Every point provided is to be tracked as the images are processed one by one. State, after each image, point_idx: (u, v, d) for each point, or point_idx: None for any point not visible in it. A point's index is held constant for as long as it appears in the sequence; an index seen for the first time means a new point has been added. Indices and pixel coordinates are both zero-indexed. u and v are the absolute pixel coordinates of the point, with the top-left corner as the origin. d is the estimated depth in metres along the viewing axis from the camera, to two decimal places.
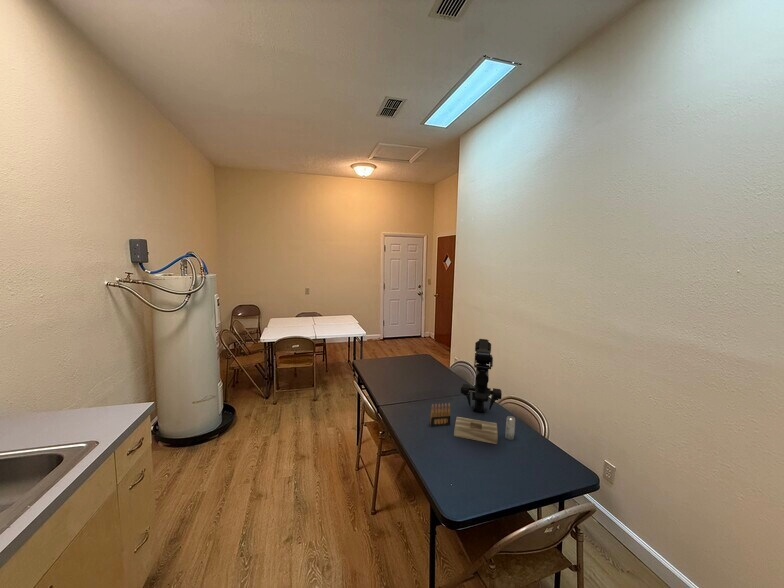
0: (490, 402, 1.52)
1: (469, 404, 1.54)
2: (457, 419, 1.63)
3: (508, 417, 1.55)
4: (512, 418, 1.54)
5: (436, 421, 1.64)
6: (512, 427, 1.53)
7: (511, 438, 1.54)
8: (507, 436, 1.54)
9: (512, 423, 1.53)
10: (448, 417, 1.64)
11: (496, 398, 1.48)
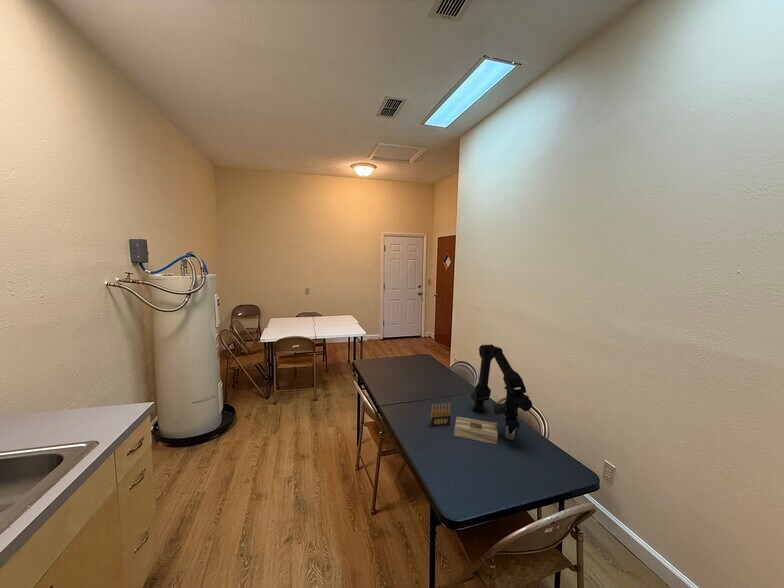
0: (510, 426, 1.53)
1: None
2: (457, 419, 1.63)
3: None
4: None
5: (436, 421, 1.64)
6: None
7: (511, 438, 1.54)
8: (507, 436, 1.54)
9: None
10: (448, 417, 1.64)
11: None
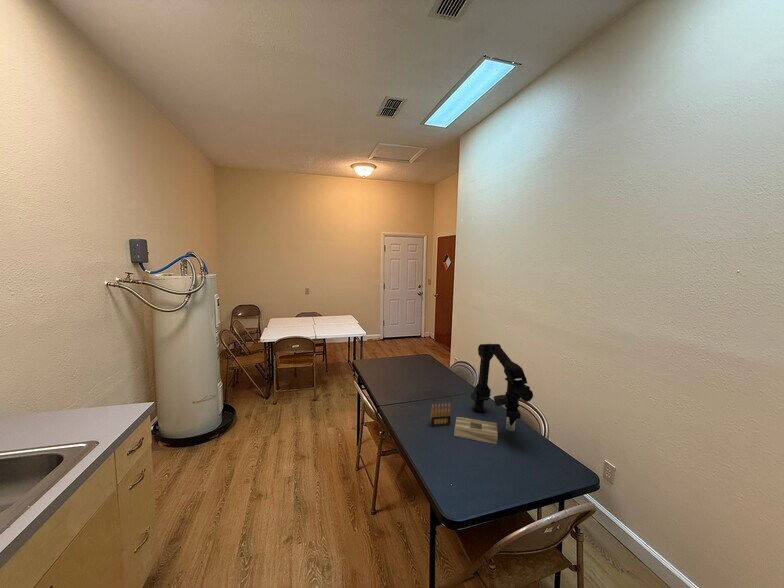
0: (511, 417, 1.52)
1: None
2: (457, 419, 1.63)
3: None
4: None
5: (436, 421, 1.64)
6: None
7: (511, 430, 1.53)
8: (508, 427, 1.54)
9: None
10: (448, 417, 1.64)
11: None
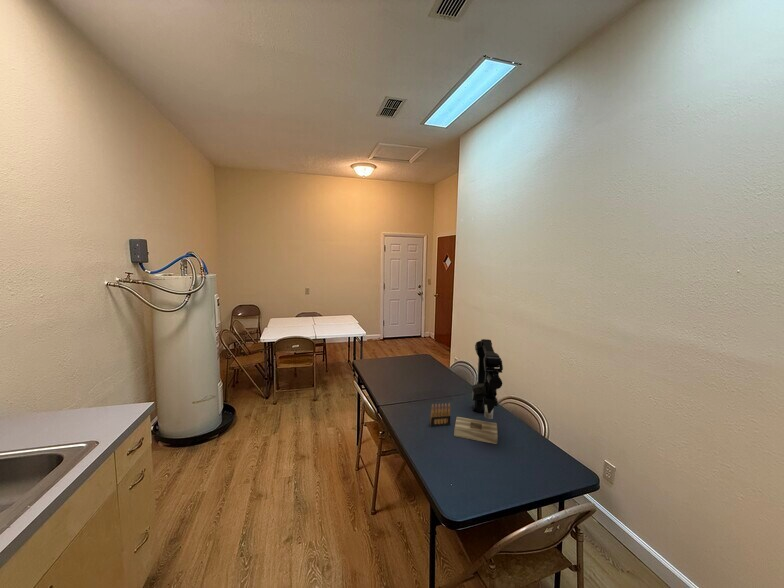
0: None
1: None
2: (457, 419, 1.63)
3: None
4: None
5: (436, 421, 1.64)
6: None
7: (489, 417, 1.54)
8: (486, 415, 1.55)
9: None
10: (448, 417, 1.64)
11: (483, 402, 1.49)
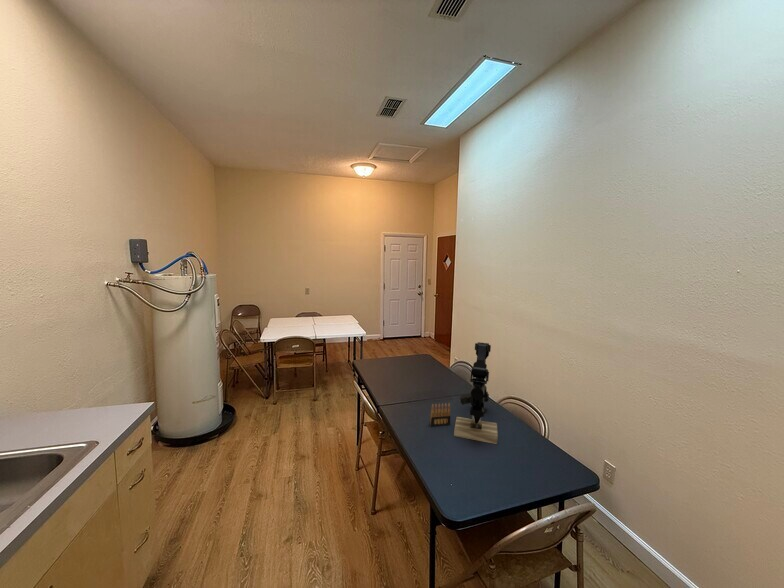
0: (476, 416, 1.55)
1: None
2: (457, 419, 1.63)
3: None
4: None
5: (436, 421, 1.64)
6: None
7: (477, 428, 1.56)
8: (473, 425, 1.56)
9: None
10: (448, 417, 1.64)
11: None
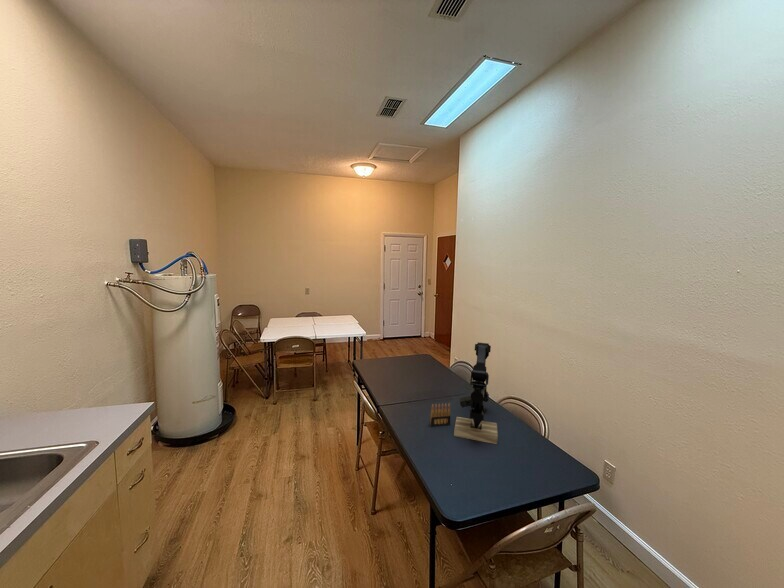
0: None
1: None
2: (457, 419, 1.63)
3: None
4: None
5: (436, 421, 1.64)
6: None
7: None
8: None
9: None
10: (448, 417, 1.64)
11: None
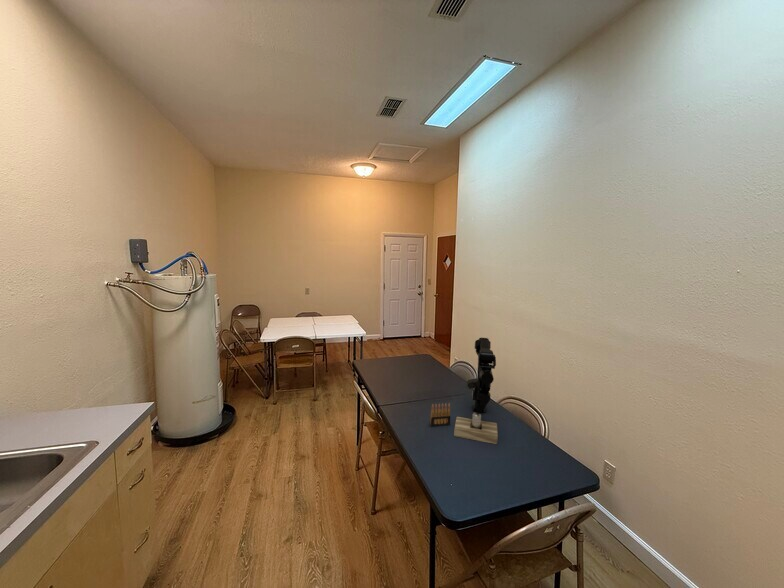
0: None
1: None
2: (457, 419, 1.63)
3: (474, 413, 1.57)
4: (478, 414, 1.57)
5: (436, 421, 1.64)
6: (477, 423, 1.55)
7: None
8: None
9: (477, 419, 1.55)
10: (448, 417, 1.64)
11: None
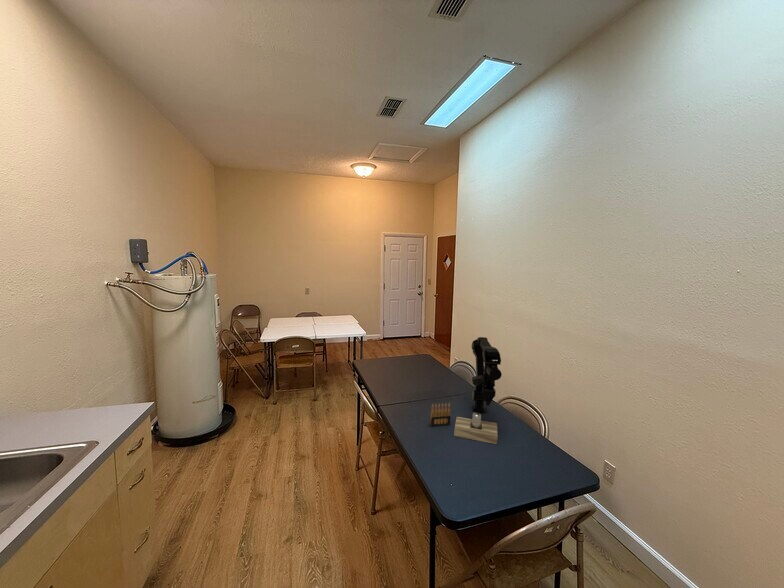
0: None
1: None
2: (457, 419, 1.63)
3: (474, 413, 1.57)
4: (478, 414, 1.57)
5: (436, 421, 1.64)
6: (477, 423, 1.55)
7: None
8: None
9: (477, 419, 1.55)
10: (448, 417, 1.64)
11: None
